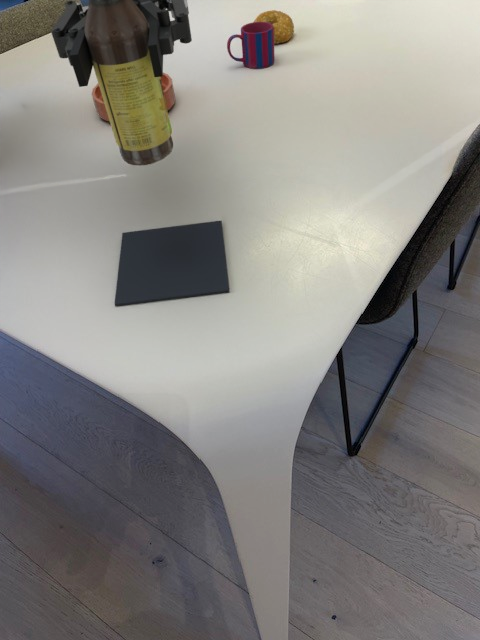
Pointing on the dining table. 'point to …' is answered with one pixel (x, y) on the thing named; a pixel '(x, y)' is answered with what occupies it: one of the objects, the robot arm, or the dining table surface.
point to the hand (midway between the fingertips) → (117, 66)
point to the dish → (166, 86)
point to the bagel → (278, 24)
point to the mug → (255, 45)
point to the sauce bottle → (128, 80)
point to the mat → (171, 263)
